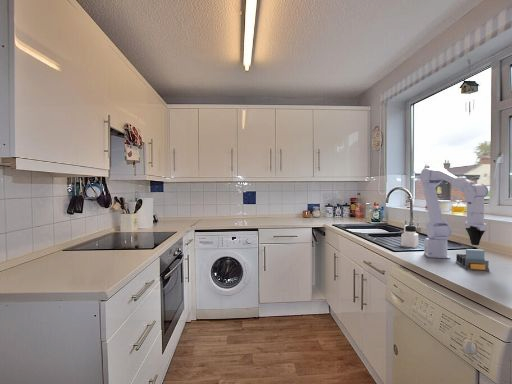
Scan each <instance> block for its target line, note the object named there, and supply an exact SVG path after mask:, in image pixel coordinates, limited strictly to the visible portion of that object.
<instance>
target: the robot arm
mask: <svg viewBox="0 0 512 384" xmlns="http://www.w3.org/2000/svg"><path fill="white" fill-rule="evenodd" d="M419 177H420V182H421V186H422V191H423V195H424V199H425V203H426V209H427V213H428V216H429V217H428V218H429V220H427V222H426V223H425V234H426V235H427V237H425V238H424V242H423V243H424V244H423V247H424V249H423V254H424V255H425V256H426V257H427V258H432V259H434V258H435V259H451V256H449V255H448V240H449V239H450V237H451V236H452V232H453V231H452V228H451V226H450V224H449V222H448V221H447V220H446V219H445V218H443V215H442V210H441V206H440V202H439V198H438V194H437V190H436V187H437V186H439V185H440V184H441V183H442V182H443V181H446V182H448V183H450V184H452V188H454V189H456V190H458V191H459V192H461V193H463V195H464V197H465V201H466V220H465V221H464V226H468V227H465V231H466V232H467V234H468V237H469V241H470V243H471V245H472V246H479V245H480V243H481V240H482V239H481V238H482V237H483V235H484V234H485V232H487V226H488V223H485V198H486V197H487V196H488V194H489V188H488V187H487V186H486V185H485V184H484V183H478V184H477V183H476V181H474V180H473V181H472V180H471V179H468V177H467V176H456V175H454V174H452V173H451V172H450V171H448V169H445V168H444V167H439V168H438V167H437V168H436V167H435V168H433V167H429V168H428V167H425V168H423V169H422V170H421V172H420V173H419Z"/></svg>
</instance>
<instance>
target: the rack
mask: <svg viewBox="0 0 512 384" xmlns="http://www.w3.org/2000/svg"><path fill="white" fill-rule="evenodd" d="M489 262H490V261H489V260H486V258H484V260H468V259H466V253H464V254H462V253H456V259H455V263H456V264H457V265H459V266H461V267H462V268H463V269H464V270H466V271H467V270H469V271H481V272H482V271H485V272H486V271H487V272H490V268H489Z"/></svg>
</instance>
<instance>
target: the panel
mask: <svg viewBox="0 0 512 384" xmlns="http://www.w3.org/2000/svg"><path fill="white" fill-rule="evenodd" d="M465 254H466V259H468V260H484V259H485V250H484V249H479V248H478V249H476V248H475V249H473V248H465Z"/></svg>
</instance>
